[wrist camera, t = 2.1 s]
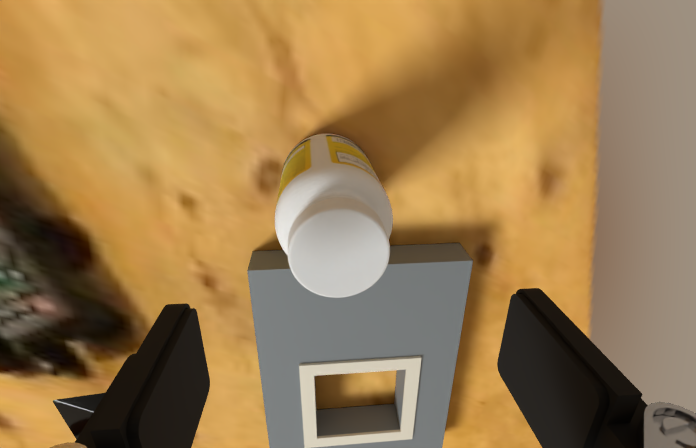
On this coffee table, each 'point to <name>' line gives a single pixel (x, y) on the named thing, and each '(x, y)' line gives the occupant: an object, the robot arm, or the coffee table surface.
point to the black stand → (78, 410)
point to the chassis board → (361, 348)
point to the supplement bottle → (333, 217)
